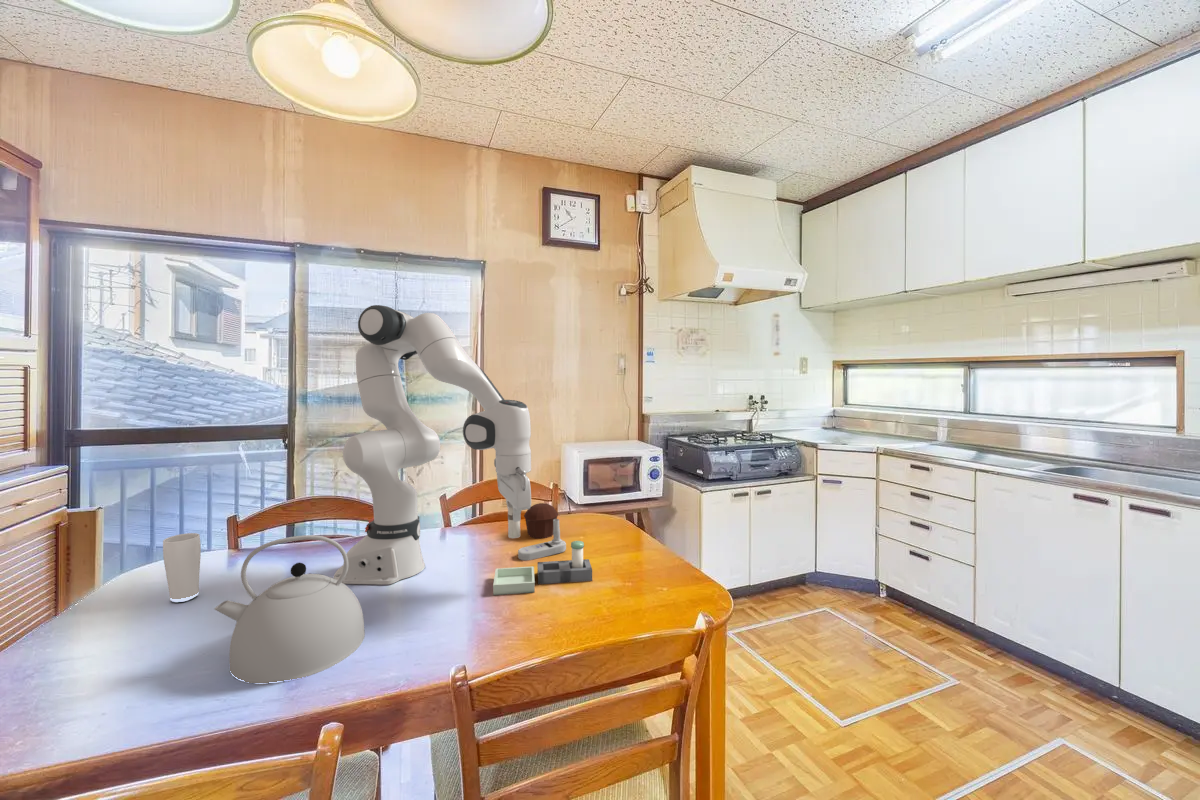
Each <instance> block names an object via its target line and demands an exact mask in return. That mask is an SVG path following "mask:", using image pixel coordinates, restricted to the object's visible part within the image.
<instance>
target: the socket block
mask: <svg viewBox="0 0 1200 800" xmlns="http://www.w3.org/2000/svg"><path fill="white" fill-rule="evenodd" d="M578 582H579V583H580V582H581V583H582V582H593V567H592V565H591V562H590V559H586V558H585V559H584V558H583V568H573V569H572V559H570V560H568V559H567V560H555V561H554V560H553V561H551V560H550V561H538V562H537V583H538V585H544V584H545V585H549V584H562V583H563V584H564V583H578Z"/></svg>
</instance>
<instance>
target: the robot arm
mask: <svg viewBox="0 0 1200 800" xmlns="http://www.w3.org/2000/svg"><path fill="white" fill-rule="evenodd" d="M357 330H358V332H359V333H360V335H361V336H362V338H364V339H365V341H367V342H369V343H367V344H364V345H362V346H361V347H359V349H358V350H357V351H356V354H355V373H356V374H355V375H356V381H357V387H358V392H359V396H360V401H361V405H362V409H363V411H364V413H365V414H366V415H367V416H368V417H369V418H371V419H374V420H377V421H379V422H380V423H381V424H382V425H383V426H384V428H386V429H380V430H368V431H365V432H361V433H359V434H355V435H352V436H349V438H348V439H347V440H346V442H345V444H344V447H343V449H342V458H343V462H344V464H345V466H346V467H347V468H348V470H350V471H351V472H352V473H355V474H356V475H358V476H359V477H360V478H361V479H362V480H364V482H365V484H367V486H368V488H369V491H370V493H371V498H372V508H373V517H372V518H371V519H369V521H368V523H367V524H366V526H365V528H364V533H366V535H365V536H364V537H363V538H361V539H360V540H359V541H358V542H356V543H355V544H354V545H353V546H351V547H350V548H349V550H347V552H346V554H347V557H348V571H347V574H346V576H345V578H344V579H343V581H342V583H343V584H345V585H382V586H383V585H392V584H394V583H397V582H398V581H401V580H404V579H407V578H410V577H413V576H415V575H417V574H419V573H421V572H422V571H423V570H424V569H425V568H426V563H425V561H424V558H423V553H422V549H421V544H420V543H421V542H420V537H421V522H420V516H419V513H418V512H419V511H418V508H419V507H418V503H419V502H418V491H417V489H416V488H415V487H414V485H413V484H411V483H410V482H407V481H403V480H401V479H400V477H399V471H398V470H400V469H405V468H412V467H418V466H422V465H424V464H427V463H429V462H432V461H434V460H435V459H436V458H437V457H438V456H439V453H440V450H441V439H440V437H439V435H438V434H437V432H436V431H435V430H434V429H432V428H431V427H429V426H427V425H426V424H424V422H422V421H421V420H420V419H419V417H417V415H416V414H415V413H414V412H413V410H412V409H411V407H410V405H409V403H408V400H407V397H406V393H405V389H404V385H403V381H402V377H401V373H400V368H399V362H400V360H403V361H406V360H410V358H412V357H413V356H415V355H418V358H419V359H420V361H421V363H422V365H423V366H424V368H425V369H426V371H427V372H428V374H429V375H430V376H431V377H433V379H435V380H438V381H440V382H442V383H445V384H450V385H453V386H456V387H458V388H462V389H463V390H466V391H467V392H469V393H471V394H472V395H473V397H474V398H475V399H476V401H477V402H478V403H479V405H480V406H481V407H482V409H483V411H480V412H477V413H476V412H475V413H473V414H470V415H469V416H468V417H467V418H466V419H465V421H464V423H463V426H462V435H463V436H462V437H463V439H464V441H465V444H466V445H467V446H468V447H470V449H472V450H477V451H485V450H489V449H494V451H495V458H494V459H493V461H494V462H493V465H494V468H495V473H496V482H497V488H498V491H499V493H500V495H501V496H503V498H504V499H505V500H506V501H505V502H506V504H507V501H508V502H509V503H510V504H511V505H512V507H513V514H512V520H513V521H514V522H518V521H520V522H521V520H522V519H521V516H522V515H521V514H522V511H525V510H526V511H527V510H528V509H530V507H531V506H532V489H531V482H530V480H531V479H530V478H529V477H528V476H527V474H528V473H530V472H531V471H532V450H531V447H530V445H531V444H530V442H531V441H530V439H531V436H532V433H531V432H532V430H531V429H532V428H531V427H532V426H531V415H530V409H529V408H528V405H527V404H526V403H524V402H522V401H520V400H515V399H505V398H504V397H503V395H502V394H501V393H500V391H499V390H498V388H497V387H496V386H495V385H494V383H493V381H492V380H491V379H490V378H489V376H488V375H487V374H486V373H485V371H484V370H483V369H482V368H481V366H479V365H478V364H477V363H476V362H475V361H474V360H473V359H472V358H471V357H470V356H469V354H468V353H467V352H466V350H465V349H464V348H463V346H462V345H461V343H460V342H459V340H458V338H457V337H456V335H455V334H454V331H452V330H451V328H450V327H449V325H448V324H447V323H446V322H445V321H444V320H443V318H441V317H440V316H439V315H438V314H436V313H433V312H425V313H424V312H423V313H421V314H419V315H417V316H415V317H413V316H411V315H410V314H408V313H406V312H403V311H400V310H396V309H395V308H394V309H393V308H392V307H390V306H387V305H386V306H385V305H381V304H379V305H378V304H374V305H370V306H367V307H366V308H364V310H362V312H361V314H360V315H359V317H358V321H357ZM506 506H507V505H506ZM506 509H508V506H507V508H506ZM343 570H344V563H343V564H342V565H341V566H340V567H339V568H338V569H337V570H336V571H335V573H334V575H333V578H334V579H336V580H338V579H339V578H340V576H341V575H342V573H343Z"/></svg>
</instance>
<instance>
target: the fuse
mask: <svg viewBox="0 0 1200 800" xmlns="http://www.w3.org/2000/svg"><path fill="white" fill-rule="evenodd" d="M584 546H585V543H584V541H582V540H573V541H571V542H570V547H571V560H572V569H573V568H583V560H584Z"/></svg>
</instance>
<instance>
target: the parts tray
mask: <svg viewBox="0 0 1200 800" xmlns="http://www.w3.org/2000/svg"><path fill="white" fill-rule="evenodd" d="M535 583H536V581H535V566H532V565H531V566H519V567H502V568H495V572H494V577H493V584H492V591H493V592H492V594H493V596H500V595H501V596H502V595H503V596H504V595H515V594H517V595H518V594H519V595H520V594H530V593H531V594H532V593H535V588H536V587H535Z"/></svg>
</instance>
